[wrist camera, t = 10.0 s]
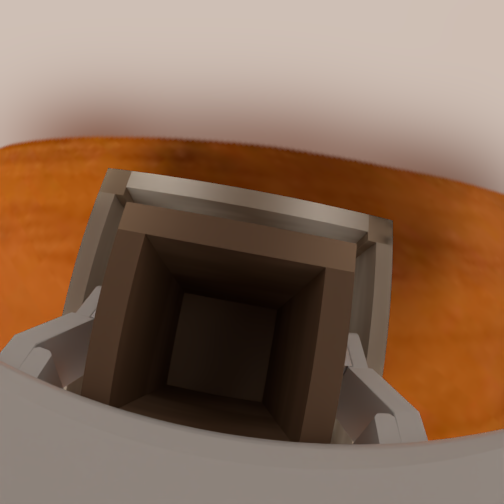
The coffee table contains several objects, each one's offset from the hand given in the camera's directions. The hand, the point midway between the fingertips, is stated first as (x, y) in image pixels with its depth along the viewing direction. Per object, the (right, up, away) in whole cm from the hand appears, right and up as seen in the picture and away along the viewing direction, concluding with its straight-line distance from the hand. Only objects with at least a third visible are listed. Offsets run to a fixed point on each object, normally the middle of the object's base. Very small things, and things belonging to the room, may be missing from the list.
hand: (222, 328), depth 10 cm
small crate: (0, -2, +4) cm, 4 cm away
